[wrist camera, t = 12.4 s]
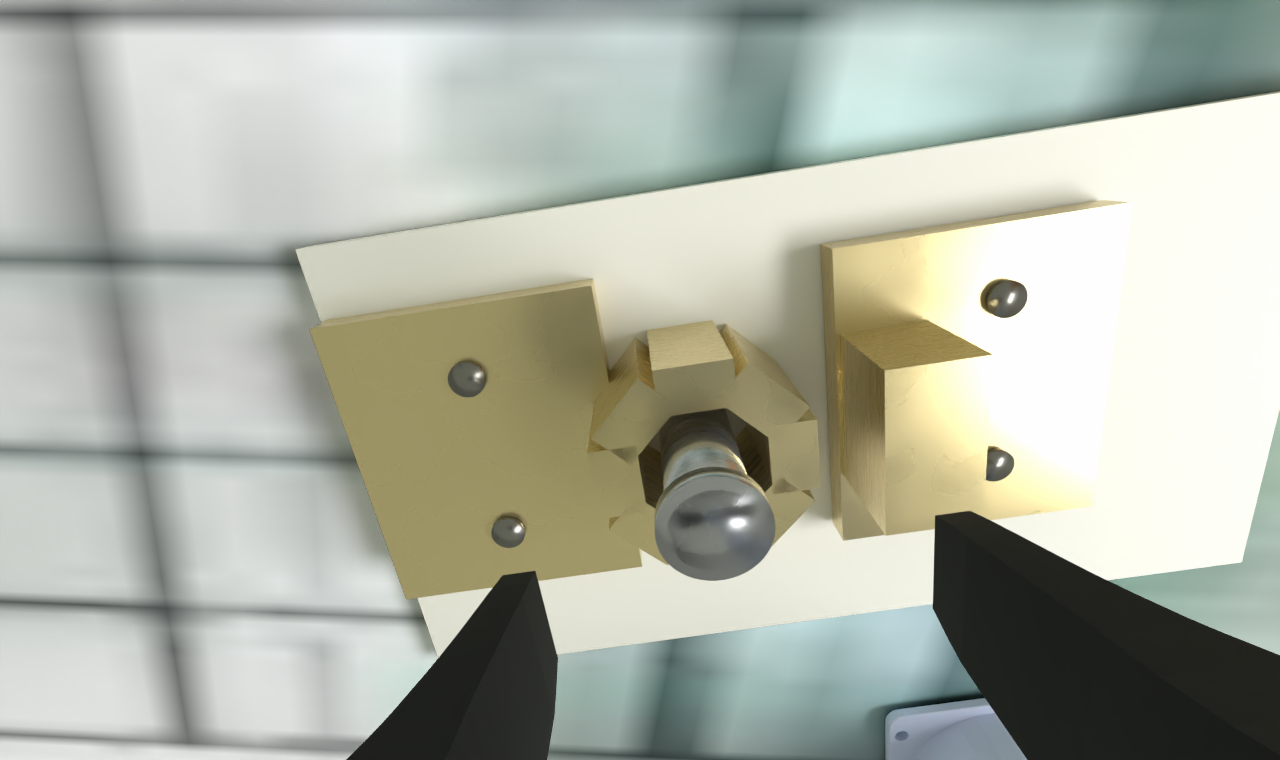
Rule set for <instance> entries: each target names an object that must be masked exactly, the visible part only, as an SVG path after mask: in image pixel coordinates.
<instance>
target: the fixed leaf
mask: <svg viewBox="0 0 1280 760" xmlns="http://www.w3.org/2000/svg"><path fill="white" fill-rule="evenodd" d="M309 330H310V333H311V335H312V338H313V341H314V344H315V347H316V349H317V352H318V355H319V358H320V361H321V363H322V366H323V369H324V372H325V375H326V377H327V380H328V383H329V386H330V388H331V391H332V394H333V397H334V400H335V402H336V405H337V408H338V411H339V414H340V416H341V419H342V422H343V425H344V427H345V430H346V433H347V436H348V439H349V441H350V444H351V447H352V450H353V453H354V455H355V458H356V461H357V464H358V467H359V469H360V472H361V475H362V478H363V480H364V483H365V486H366V489H367V492H368V494H369V497H370V500H371V503H372V506H373V508H374V511H375V514H376V517H377V519H378V522H379V525H380V528H381V531H382V533H383V536H384V539H385V542H386V545H387V547H388V550H389V553H390V556H391V559H392V561H393V564H394V567H395V570H396V572H397V575H398V578H399V581H400V584H401V586H402V589H403V592H404V595H405V598H406V599H414V598H421V597H428V596H435V595H442V594H450V593H457V592H464V591H471V590H478V589H485V588H493V587H494V586H495V584H496V583H497V582H498V580H499V579H500V578H501V577H502V575H508V574H515V573H522V572H529V571H536V575H537V579H538V581H543V580H550V579H557V578H564V577H572V576H579V575H586V574H593V573H600V572H608V571H615V570H622V569H629V568H636V567H642V550H643V551H644V552H646V553H648V554H649V555H651V556H653V557H654V558H656V559H658V560H659V561H661V562H663V563H664V564H666V565H667V566H668V565H669V564H668V563H667V562H666V561H665V559H664V558H663V557H662V555H661V553H660V551H659V549H658V547H657V544H656V539H655V525H654V514H655V508H656V505H657V502H658V500H659V498H660V496H661V494H662V493H663V491H664V488H663V474H662V460H661V453H660V452H658V451H657V450H655V449H654V448H652V447H651V446H649V445H648V443H649V442H650V441H651V440H652V438H653V437H654V436H655V435H656V433H657V432H658V431H659V430H660V429H661V427H662V426H663V425H664V424H665V422H666V421H667V420H668V419H669V418H670V416H674V415H681V414H687V413H694V412H701V411H708V410H715V409H721V408H727V409H729V410H730V411H731V412H733V413H734V414H736V415H737V416H739V417H740V418H741V419H743V420H744V421H745V423H746V426H745V427H744V429H743V430H742V431H741V432H740V433H739V434H738V436H737V437H736V438H735V440H736V443H737V446H738V449H739V452H740V455H741V458H742V461H743V464H744V467H745V470H746V473H747V475H748V476H749V477H750V478H752V479H753V480H754V481H755V482H757V483H758V484H759V486H760V487H761V488H762V489H763V491H764V492H765V494H766V496H767V499H768V501H769V504H770V506H771V509H772V512H773V514H774V519H775V527H776V529H775V537H774V541H773V543H772V546H773V545H774V544H775V543H776V542H777V541H778V540H779V539H780V537H781V536H782V535H783V534H784V533H785V532H786V531H787V530H788V529H789V528H790V527H791V526H792V525H793V524H794V523H795V522H796V521H797V520H798V519H799V518H800V517H801V515H802V514H803V513H804V512H805V511H806V510H807V509H808V508H809V507H810V506H811V505H812V504H813V503H814V502H815V499H814V497H813V495H812V494H811V492H810V490H809V489H816V488H821V484H820V464H819V444H818V424H817V418H816V417H815V416H814V414H813V413H812V412H811V410H810V409H809V408H810V406H809V404H808V403H807V402H806V400H805V399H804V398H803V396H802V395H801V394H800V392H799V391H798V390H797V388H796V387H795V386H794V384H793V383H792V382H791V380H790V379H789V378H788V376H787V375H786V374H785V372H784V371H783V370H782V368H781V367H780V366H779V364H778V363H777V362H776V360H774V359H773V358H772V357H770V356H769V355H768V354H766V353H765V352H764V351H762V350H761V349H760V348H758V347H757V346H756V345H754V344H753V343H751V342H750V341H749V340H747V339H746V338H745V337H743V336H742V335H741V334H739V333H738V332H737V331H735V330H734V329H733V328H731V327H730V326H729V325H727V324H726V323H725V325H724V326H723V327H722V328H721V330H720V331H718V329H717V327H716V326H715V324H714V322H713V320H711V321H704V322H698V323H691V324H684V325H678V326H671V327H665V328H658V329H651V330H647V336H648V344H649V346H647V345H646V344H644V343H643V342H642V341H640V340H639V339H637V338H636V337H635V338H634V339H633V341H632V342H631V343H630V345H629V346H628V347H627V349H626V350H625V351H624V352H623V354H622V355H621V356H620V358H619V359H618V360H617V362H616V363H615V364H614V366H613V367H612V368H611V370H610V369H609V363H608V357H607V352H606V346H605V341H604V335H603V330H602V324H601V318H600V313H599V307H598V302H597V296H596V290H595V285H594V279H587V280H580V281H574V282H567V283H561V284H554V285H548V286H541V287H535V288H529V289H522V290H516V291H509V292H503V293H496V294H490V295H483V296H477V297H471V298H464V299H458V300H451V301H445V302H438V303H432V304H425V305H419V306H413V307H406V308H400V309H393V310H387V311H380V312H374V313H367V314H361V315H355V316H348V317H342V318H335V319H329V320H326V321H324V322H322V323H320V324H318V325H316V326H314V327H312V328H311V329H309ZM772 546H771V547H772Z"/></svg>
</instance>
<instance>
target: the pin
mask: <svg viewBox="0 0 1280 760" xmlns="http://www.w3.org/2000/svg"><path fill="white" fill-rule="evenodd" d="M659 433H660V447H661V460H662V474H663V488H664V491H663V493H662V494H661V496H660V498H659V500H658V502H657V505H656V508H655V514H654V525H655V539H656V544H657V547H658V549H659V551H660V553H661V555H662V557H663V558H664V559H665V561H666V562H667V563H668V564H669V565H670V566H671V567H673V568H674V569H675V570H677V571H678V572H680V573H682V574H684V575H686V576H688V577H691V578H694V579H699V580H706V581H719V580H726V579H731V578H734V577H737V576H740V575H742V574H744V573H746V572H748V571H749V570H751V569H753V568H754V567H755V566H756V565H758V564H759V563H760V562H761V561H762V560H763V559H764V557H765V556H766V555H767V553H768V552H769V550H770V548H771V546H772V543H773V541H774V537H775V529H776V527H775V519H774V514H773V512H772V509H771V506H770V504H769V501H768V499H767V496H766V494H765V492H764V491H763V489H762V488H761V487H760V486H759V484H758V483H757V482H755V481H754V480H753V479H752V478H750V477H749V476H748V475H747V473H746V470H745V467H744V464H743V461H742V458H741V455H740V452H739V449H738V446H737V443H736V440H735V437H734V434H733V431H732V428H731V426H730V423H729V420H728V417H727V414H726V411H725V408H721V409H715V410H708V411H701V412H694V413H687V414H681V415H674V416H670V418H669V419H668V420H667V421H666V422H665V424H664V425H663V426H662V427H661V429H660V430H659Z"/></svg>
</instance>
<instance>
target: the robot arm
mask: <svg viewBox="0 0 1280 760" xmlns="http://www.w3.org/2000/svg"><path fill="white" fill-rule="evenodd" d="M933 609H934V611H935V613H936V615H937V617H938V619H939V621H940V623H941V625H942V627H943V629H944V631H945V633H946V635H947V637H948V639H949V641H950V643H951V645H952V647H953V648H954V650H955V652H956V654H957V656H958V658H959V660H960V661H961V663H962V665H963V666H964V668H965V669H966V671H967V672H968V674H969V675H970V677H971V678H972V680H973V681H974V683H975V684H976V686H977V687H978V689H979V690H980V692H981V693H982V695H983V696H984V697H985V698H981V699H973V700H966V701H958V702H950V703H943V704H935V705H927V706H920V707H912V708H904V709H897V710H893V711H892V712H890V713H889V714H888V715H887V716H886V720H885V748H886V760H1280V655H1277V654H1275V653H1272V652H1270V651H1267V650H1265V649H1262V648H1260V647H1257V646H1255V645H1252V644H1250V643H1247V642H1245V641H1242V640H1240V639H1237V638H1235V637H1232V636H1230V635H1227V634H1225V633H1222V632H1220V631H1217V630H1215V629H1212V628H1210V627H1208V626H1205V625H1203V624H1201V623H1198V622H1196V621H1194V620H1191V619H1189V618H1187V617H1184V616H1182V615H1180V614H1178V613H1176V612H1173V611H1171V610H1169V609H1167V608H1165V607H1163V606H1160V605H1158V604H1156V603H1154V602H1152V601H1150V600H1147V599H1145V598H1143V597H1141V596H1139V595H1136V594H1134V593H1132V592H1130V591H1128V590H1126V589H1124V588H1122V587H1120V586H1118V585H1116V584H1114V583H1111V582H1109V581H1107V580H1105V579H1103V578H1101V577H1099V576H1097V575H1095V574H1093V573H1091V572H1089V571H1087V570H1085V569H1083V568H1081V567H1079V566H1077V565H1075V564H1074V563H1072V562H1070V561H1068V560H1066V559H1064V558H1062V557H1060V556H1058V555H1056V554H1054V553H1052V552H1050V551H1048V550H1046V549H1045V548H1043V547H1041V546H1039V545H1037V544H1035V543H1033V542H1031V541H1029V540H1027V539H1025V538H1024V537H1022V536H1020V535H1018V534H1016V533H1014V532H1012V531H1010V530H1008V529H1006V528H1004V527H1002V526H1001V525H999V524H997V523H995V522H993V521H991V520H989V519H987V518H985V517H983V516H980V515H978V514H976V513H974V512H972V511H964V512H957V513H950V514H942V515H935V538H934V579H933ZM557 663H558V657H557V653H556V649H555V645H554V641H553V637H552V633H551V630H550V626H549V622H548V618H547V614H546V610H545V606H544V602H543V598H542V594H541V591H540V587H539V583H538V579H537V575H536V571H529V572H522V573H515V574H508V575H502V577H501V578H500V579H499V580H498V582H497V583H496V584H495V586H494V587H493V588H492V589H491V591H490V592H489V593H488V594H487V596H486V597H485V598H484V600H483V601H482V602H481V604H480V605H479V606H478V608H477V609H476V610H475V612H474V613H473V614H472V616H471V617H470V618H469V620H468V621H467V622H466V624H465V625H464V626H463V627H462V629H461V630H460V631H459V633H458V634H457V635H456V637H455V638H454V639H453V640H452V642H451V643H450V644H449V645H448V647H447V648H446V649H445V650H444V652H443V653H442V654H441V655H440V657H439V658H438V659H437V660H436V662H435V663H434V664H433V666H432V667H431V668H430V669H429V670H428V672H427V673H426V674H425V675H424V676H423V677H422V679H421V680H420V681H419V682H418V683H417V684H416V686H415V687H414V688H413V689H412V690H411V691H410V692H409V694H408V695H407V696H406V697H405V698H404V699H403V701H402V702H401V703H400V704H399V705H398V706H397V708H396V709H395V710H394V711H393V712H392V713H391V714H390V715H389V716H388V718H387V719H386V720H385V721H384V722H383V723H382V724H381V725H380V726H379V727H378V728H377V729H376V730H375V731H374V732H373V733H372V735H371V736H370V737H369V738H368V739H367V740H366V741H365V742H364V743H363V744H362V745H361V746H360V747H359V748H358V749H357V750H356V751H355V752H354V753H353V754H352V755H351V756H350V757H349V758H348V759H347V760H547V756H548V750H549V744H550V738H551V733H552V727H553V720H554V713H555V699H556V683H557Z"/></svg>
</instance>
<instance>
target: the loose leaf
mask: <svg viewBox="0 0 1280 760" xmlns="http://www.w3.org/2000/svg"><path fill="white" fill-rule="evenodd" d="M1132 205H1133V202H1121V201H1109V200H1100V201H1093V202H1087V203H1081V204H1074V205H1068V206H1061V207H1055V208H1048V209H1042V210H1035V211H1029V212H1022V213H1016V214H1010V215H1003V216H997V217H990V218H984V219H977V220H971V221H964V222H958V223H952V224H945V225H939V226H932V227H926V228H919V229H913V230H906V231H900V232H894V233H887V234H881V235H874V236H868V237H861V238H855V239H848V240H842V241H836V242H829V243H823V244H820V248H821V271H822V294H823V317H824V340H825V363H826V386H827V409H828V431H829V454H830V477H831V500H832V522H833V524H834V526H835V528H836V529H837V531H838V533H839V535H840V536H841V538H842V540H843V541H845V540H852V539H860V538H867V537H874V536H881V535H885V536H888V535H896V534H903V533H910V532H917V531H924V530H932V529H935V515H942V514H950V513H957V512H964V511H972V512H974V513H976V514H978V515H980V516H983V517H985V518H987V519H989V520H996V519H1003V518H1011V517H1018V516H1025V515H1032V514H1039V513H1047V512H1054V511H1061V510H1068V509H1075V508H1082V507H1090V506H1092V502H1093V494H1094V487H1095V479H1096V472H1097V464H1098V457H1099V450H1100V442H1101V435H1102V427H1103V420H1104V413H1105V405H1106V398H1107V390H1108V383H1109V376H1110V368H1111V361H1112V353H1113V346H1114V339H1115V331H1116V324H1117V316H1118V309H1119V301H1120V294H1121V287H1122V279H1123V272H1124V264H1125V257H1126V250H1127V242H1128V235H1129V227H1130V220H1131V213H1132Z"/></svg>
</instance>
